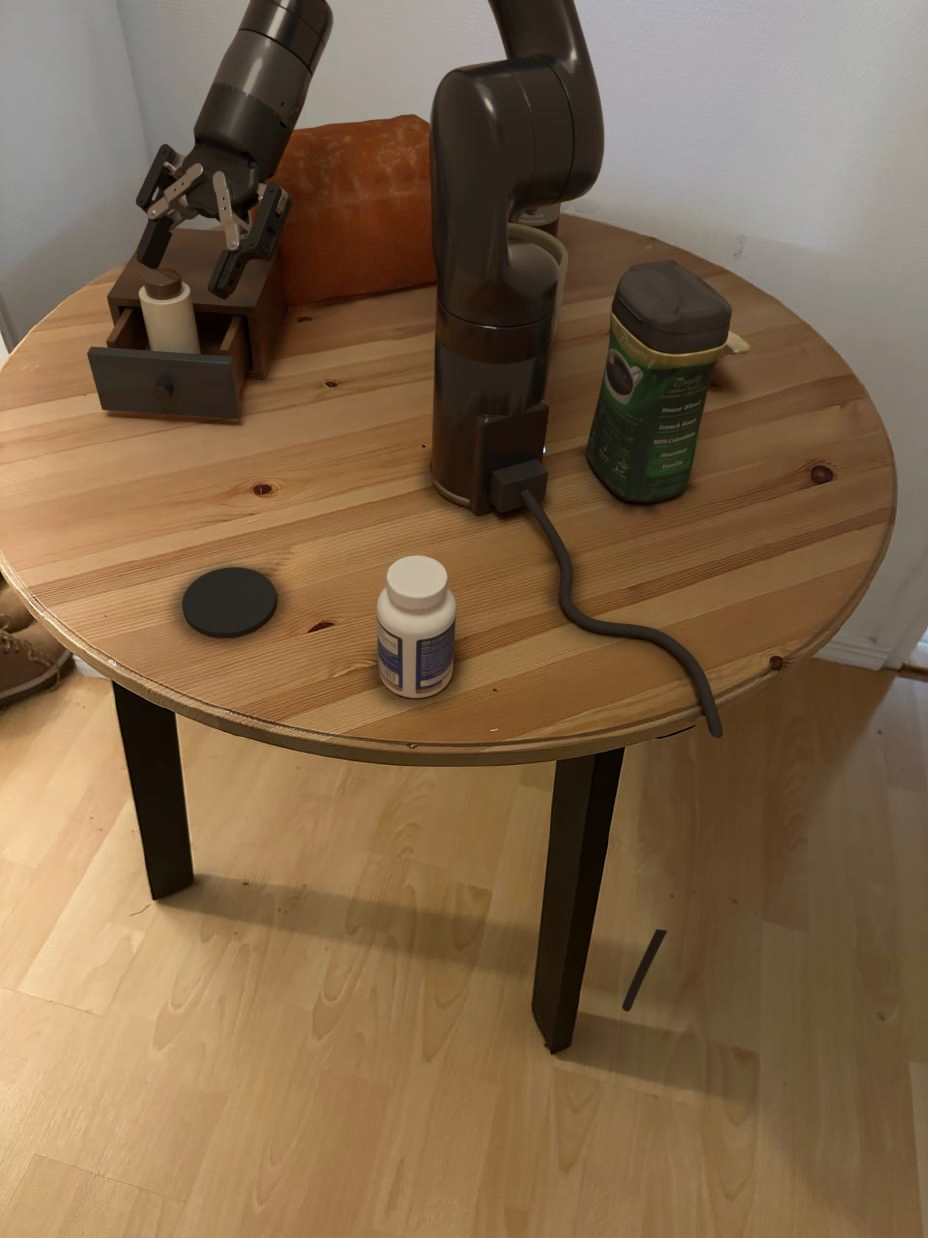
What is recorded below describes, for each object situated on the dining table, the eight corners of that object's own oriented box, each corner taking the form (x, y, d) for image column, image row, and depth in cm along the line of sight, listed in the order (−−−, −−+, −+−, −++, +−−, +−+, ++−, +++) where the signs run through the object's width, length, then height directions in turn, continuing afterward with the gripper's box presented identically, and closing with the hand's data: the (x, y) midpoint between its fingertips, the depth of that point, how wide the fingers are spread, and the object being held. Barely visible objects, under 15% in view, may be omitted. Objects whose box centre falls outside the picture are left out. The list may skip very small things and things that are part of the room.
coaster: (289, 620, 72) (289, 615, 71) (198, 649, 69) (197, 644, 69) (259, 562, 76) (258, 556, 76) (172, 587, 74) (170, 582, 73)
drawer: (235, 427, 87) (227, 370, 82) (97, 417, 87) (81, 360, 82) (267, 342, 97) (261, 287, 92) (143, 333, 97) (131, 278, 92)
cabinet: (263, 380, 94) (255, 306, 88) (124, 370, 94) (106, 296, 88) (290, 305, 104) (284, 235, 98) (164, 296, 104) (150, 225, 98)
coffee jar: (700, 496, 84) (757, 302, 71) (621, 515, 82) (665, 318, 69) (647, 434, 90) (690, 244, 77) (572, 450, 88) (603, 257, 75)
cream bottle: (210, 383, 89) (193, 282, 82) (163, 393, 88) (142, 292, 80) (197, 359, 92) (179, 260, 84) (151, 369, 90) (129, 269, 83)
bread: (476, 278, 109) (483, 143, 99) (271, 318, 101) (256, 176, 90) (414, 217, 120) (415, 88, 109) (224, 249, 111) (205, 113, 101)
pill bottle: (456, 648, 71) (462, 551, 64) (448, 704, 67) (454, 608, 60) (384, 640, 71) (382, 543, 64) (372, 696, 67) (369, 600, 60)
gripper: (166, 61, 82) (94, 238, 83) (294, 101, 77) (215, 288, 79) (218, 110, 89) (150, 273, 91) (338, 150, 84) (265, 321, 86)
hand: (180, 280), depth 85 cm, fingers open, 8 cm apart
